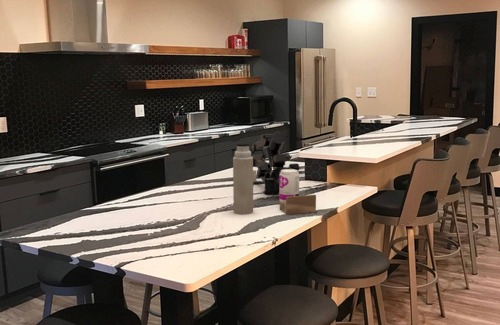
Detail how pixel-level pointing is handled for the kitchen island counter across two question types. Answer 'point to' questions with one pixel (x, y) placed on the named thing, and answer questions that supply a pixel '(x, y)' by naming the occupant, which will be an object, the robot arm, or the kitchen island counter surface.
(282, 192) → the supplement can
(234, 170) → the thermos bottle
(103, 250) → the kitchen island counter surface
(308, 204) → the walnut dock
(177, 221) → the kitchen island counter surface
